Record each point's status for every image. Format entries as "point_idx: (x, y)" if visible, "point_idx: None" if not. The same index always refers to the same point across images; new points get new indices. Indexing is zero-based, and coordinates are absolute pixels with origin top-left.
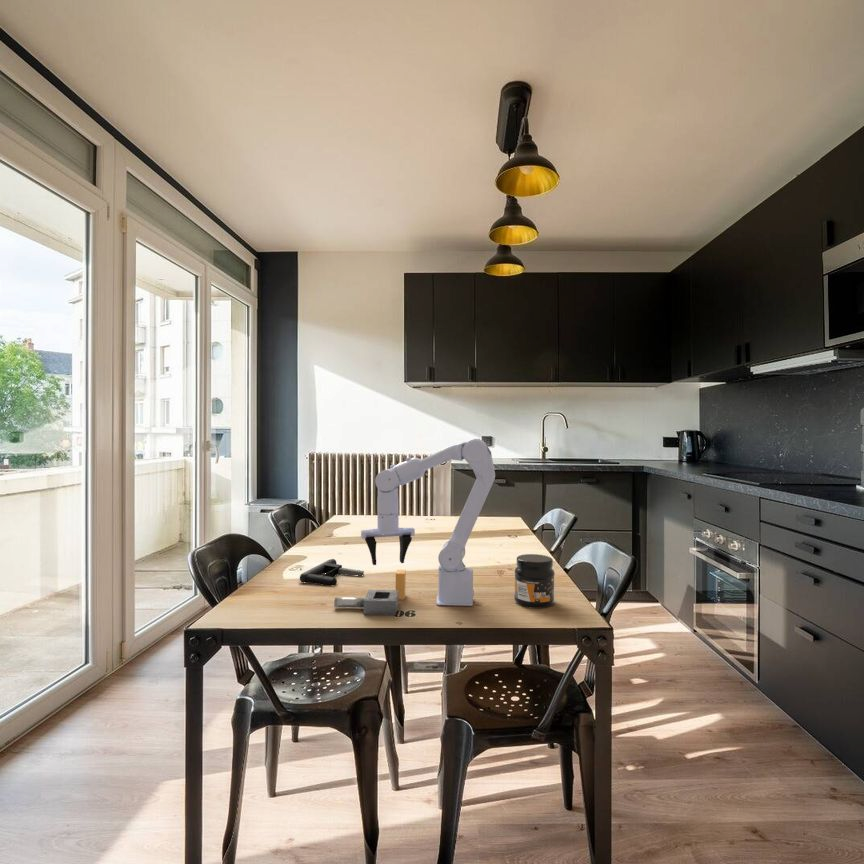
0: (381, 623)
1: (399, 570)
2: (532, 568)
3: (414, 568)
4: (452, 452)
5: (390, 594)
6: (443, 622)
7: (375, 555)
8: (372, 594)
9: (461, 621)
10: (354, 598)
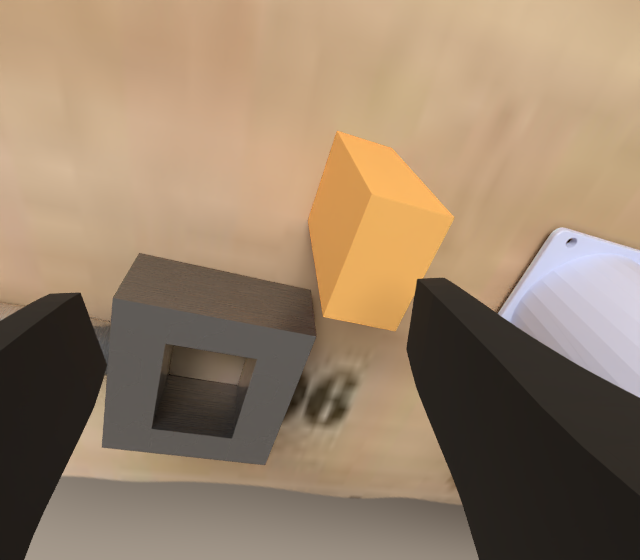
0: (201, 462)
1: (386, 231)
2: None
3: None
4: None
5: (252, 391)
6: (413, 473)
7: (46, 494)
8: (145, 378)
9: None
10: None
